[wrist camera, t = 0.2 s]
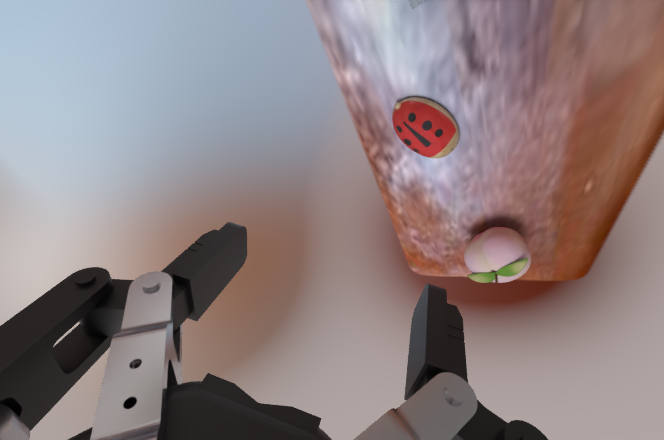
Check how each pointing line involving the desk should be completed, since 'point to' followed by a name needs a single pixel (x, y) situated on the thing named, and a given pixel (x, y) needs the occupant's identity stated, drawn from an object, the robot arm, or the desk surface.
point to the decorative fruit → (497, 256)
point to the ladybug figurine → (425, 127)
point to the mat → (415, 3)
